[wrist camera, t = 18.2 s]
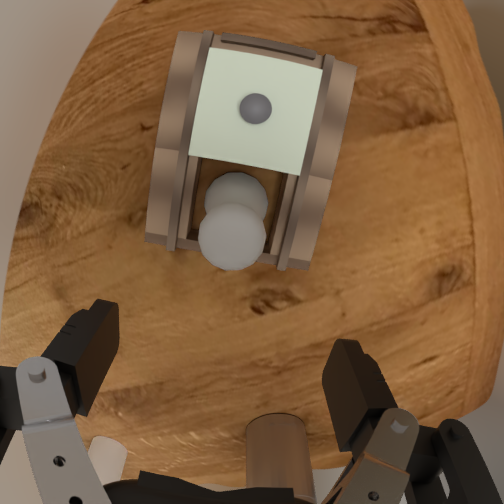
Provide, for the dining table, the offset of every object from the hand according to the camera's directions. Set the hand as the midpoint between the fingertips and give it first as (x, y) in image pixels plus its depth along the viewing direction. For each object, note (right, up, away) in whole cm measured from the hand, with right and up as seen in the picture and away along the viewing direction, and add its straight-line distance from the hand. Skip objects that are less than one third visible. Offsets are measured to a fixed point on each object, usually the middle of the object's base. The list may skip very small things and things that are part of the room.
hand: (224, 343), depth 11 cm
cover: (+1, +15, +14) cm, 21 cm away
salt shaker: (0, +9, +21) cm, 22 cm away
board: (0, +13, +19) cm, 23 cm away
